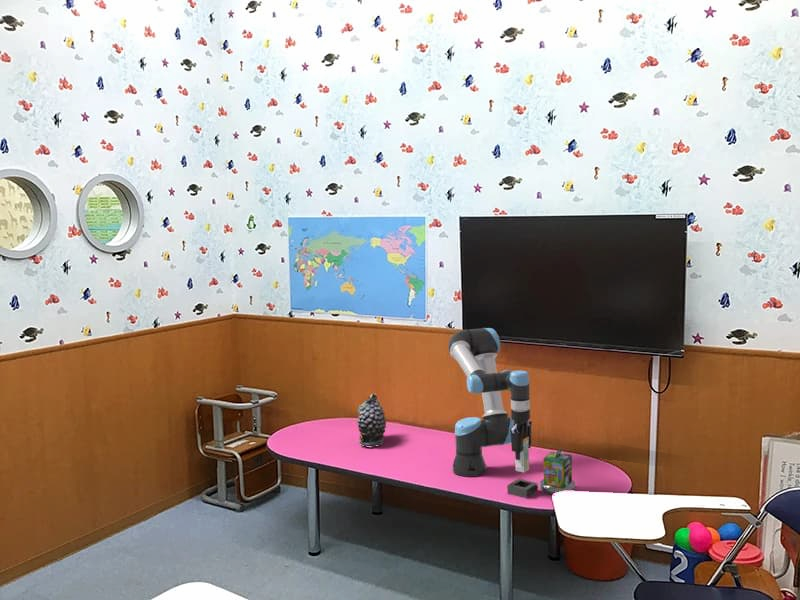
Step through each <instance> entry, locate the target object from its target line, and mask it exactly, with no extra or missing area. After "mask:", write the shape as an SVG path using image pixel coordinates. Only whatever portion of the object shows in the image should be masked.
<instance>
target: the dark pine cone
mask: <svg viewBox="0 0 800 600" xmlns="http://www.w3.org/2000/svg"><path fill="white" fill-rule="evenodd" d="M357 413H358V418H357V419H356V424H357V426H358V427H357V428H358V431H359V433H360V435H359V438H358V440H359V444H362V445H364V446H376V445H380V444H382V443H384V440H385V435H384V434H385V433H386V430H385V429H386V428H387V426H386V425H387V421H386V420H387V419H386V417H385V415H386V414H385V412H384V408H383V407H382V403H380V402H379V400H378V395H377V394H376V393H375V392H372V394H370V396H368V397H367V398H366V399H365V400H364V402H363V403H361V404H360V405H358V409H357ZM382 445H383V444H382ZM380 446H381V445H380Z"/></svg>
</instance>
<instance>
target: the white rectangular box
mask: <svg viewBox="0 0 800 600" xmlns="http://www.w3.org/2000/svg"><path fill="white" fill-rule="evenodd" d="M528 439H529V436H522V439H521V452H522V465H523V467H522V468H520V467H516V459H515V458H514V459H515V460H514V461H515V462H514V464H515V466H514V467H515V472H521V473H526V472H528V471H529V470H530V454H529V453H530V452H529V451H530V450H529V449H530V448H529V446H530V445H529V446H528V442H529V441H528Z"/></svg>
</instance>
